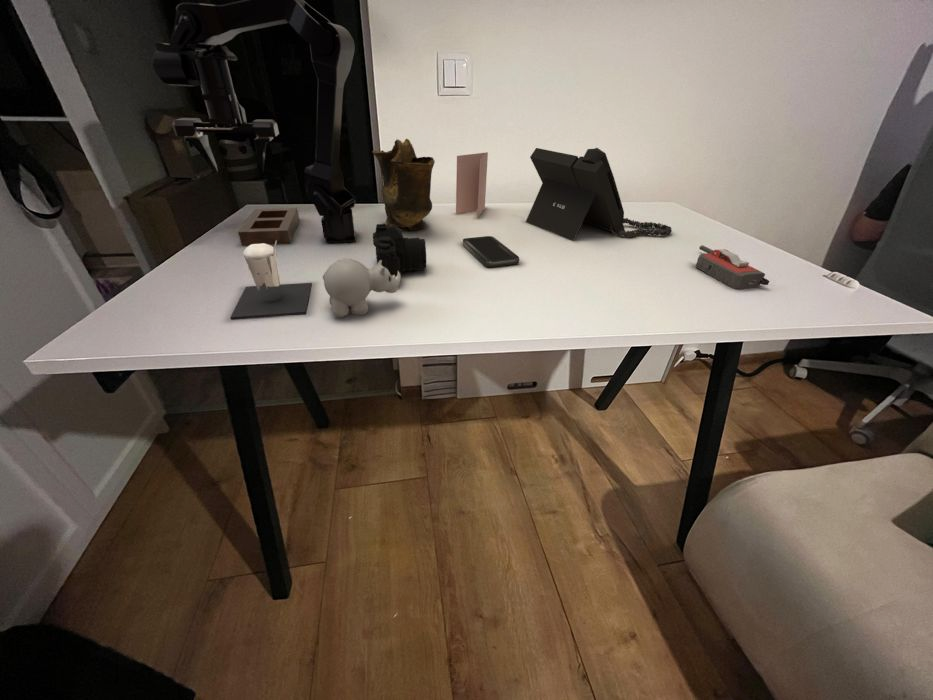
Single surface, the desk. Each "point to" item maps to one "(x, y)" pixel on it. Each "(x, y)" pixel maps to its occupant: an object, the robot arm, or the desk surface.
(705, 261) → the walkie-talkie
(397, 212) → the pottery vessel
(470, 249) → the phone
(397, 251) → the film camera
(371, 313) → the desk surface
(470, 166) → the greeting card
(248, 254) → the milkshake
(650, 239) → the desk surface
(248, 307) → the mat
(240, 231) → the rack
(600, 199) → the office phone
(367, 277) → the round bodied animal figurine
